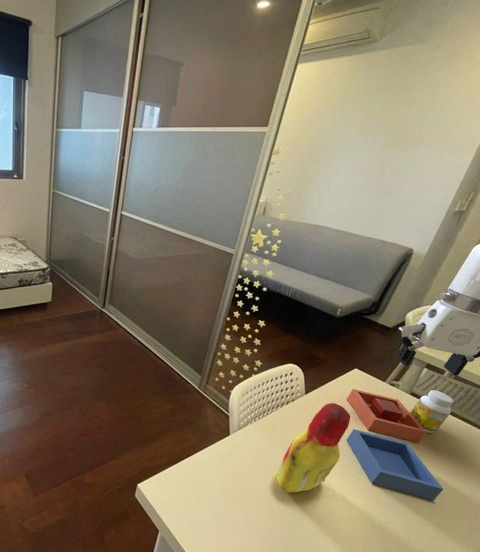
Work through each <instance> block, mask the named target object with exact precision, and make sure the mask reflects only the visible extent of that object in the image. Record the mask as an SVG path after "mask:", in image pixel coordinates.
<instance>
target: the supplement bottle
mask: <svg viewBox="0 0 480 552" xmlns="http://www.w3.org/2000/svg"><path fill="white" fill-rule="evenodd" d="M453 403H454V400H453V398H451V397H450V396H449V395H447V394H446V393H444V392H441V391H439V390H435V389H432V390H430V391H429V392H428V393H427V395H423V396H421V397H420V398H419V399H418V401H417V402H416V403H415V405H414V406H413V408H412V409H411V411H409V412H410V414H411V415H412V416H413V417H414V418H415V419H416V420H417V422H418V423H419V424H420V425H421V426H422V427H423V428H424V430H425V431H426V432H427V433H429V434H435V433H436V432H437V431H438V430H439V428H440V427H441V426H442V425H443V424H444V422H446V419H448V417H449V415H450V414H451V413H452V409H451V406H452V405H453Z"/></svg>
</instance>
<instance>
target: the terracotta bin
mask: <svg viewBox="0 0 480 552" xmlns="http://www.w3.org/2000/svg"><path fill="white" fill-rule="evenodd" d="M375 398H377V399H381V400H385V401H389V402H393V403H394V404H395V405H396V407H397V408H398V409H399V410H400V411H401V412H402V414H403V415H402V416H401V418H400V419H399V420H398V422H397V423H395V422H391V421H387V420H383V419H379V418H377V417H376V416H375V415H374V413H373V412H372V411H371V409H370V408H369V407H370V405H371V404H372V402H373V401H374V399H375ZM346 400H347V402H348V403H349V405H350V406H351V407H352V409H353V410H354V411H355V413H356V414H357V416H358V418H359V419H360V420H361V422H362V424H363V425H364V426H365V428H366V429H367V431H370V432H375V433H378V434H382V435H386V436H390V437H393V438H398V439H402V440H406V441H410V442H413V443H417V444H419V443H420V442H421V441H422V439H423V438H424V437H425V436H426V434H427V433H428V432H426V431H425V430H424V428H423V427H422V426H421V425H420V424H419V423H418V422H417V420H416V419H415V418H414V417H413V416H412V415H411V414H410V412H411V411H409V410H408V409H407V407H406V406H404V404H403V403H402V402H401V401H400V400H399V399H397V398H392V397H389V396H384V395H380V394H376V393H371V392H367V391H363V390H359V389H355V388H352V390H351V391H350V393H349V394H348V396H347V397H346Z"/></svg>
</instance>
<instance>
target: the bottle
mask: <svg viewBox="0 0 480 552" xmlns="http://www.w3.org/2000/svg"><path fill="white" fill-rule="evenodd" d="M350 423H351V414H350V413H349V412H348V411H347V409H345V408H344V407H343V406H342V405H339V404H337V403H335V402H330V403H326V404H324V405H323V406H321V408H320V409H319V410H318V412H316V413H315V415H314V416H313V418H312V419H311V421H310V423H309V425H308V427H307V430H305V431H303V432H302V433H300V434H299V435H297V436H296V437H295V438H294V439H293V440H292V442H291V443H290V444H289V446H288V448H287V450H286V452H285V453H284V456H283V458H282V459H281V463H280V465H279V467H278V469H277V477H276V479H277V483H278V485H279V486H280V488H281V489H282V490H283V491H285V492H286V493H299V492H306V491H311V490H312V489H313V488H316V487H319V485H320V484H321V483H324V482H325V481H326V478H327V477H328V476H329V475H330V473H331V471H332V470H333V468H334V467H335V466H336V464H337V463H338V461H339V460H340V457H341V451H340V445H339V443H340V441H341V440H342V438H343V436H344V434H345V433H346V431H347V429H348V428H349V425H350Z"/></svg>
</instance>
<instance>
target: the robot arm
mask: <svg viewBox="0 0 480 552" xmlns="http://www.w3.org/2000/svg"><path fill="white" fill-rule="evenodd" d="M438 298H439V299H440V300H439V299H437V300H436V301H435V302H434V303H433V304H432V305H431V306H430V307H429V308H428V309H427V310H426V312H425V313H424V314H423V315H422V316H421V318H420V319H419V320H418V322H417V324H411V325H404V326H399V327H398V328H397V332H398V339H399V341H400V344H402V345H401V348H400V349H399V350H398V352H397V354H396V356H395V358H396V359H397V360H398V361H399V362H400V363H401V364H402V365H403V366H409V365H410V364H411V362H412V361H413V359H414V357H415V356H416V354H417V351H416V350H418V349H420V348H424V347H426V348H427V349H431V350H436V351H440V352H445V353H451V355H450V356H449V358H448V359H447V360H446V362H445V363H444V364H443V368H444V369H445V370H446V371H448V372H449V373H451V375H453V376H459V375H460V374H461V373H462V371H463V370H464V368H465V367H466V365H467V364H468V363H472V362H474V361H475V359H478V358H480V243H479V244H477V245H475V246H474V247H473V249H471V251H470V253H469V254H468V256H467V258H466V259H465V261H464V262H463V264H462V265H461V267H460V269H459V270H458V272H457V274H455V277H454V278H453V280H452V281H451V283H450V284H449V286H448V287H447V289H446V291H445V292H443V291H441V292H439V293H438ZM410 334H411V336H410Z"/></svg>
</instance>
